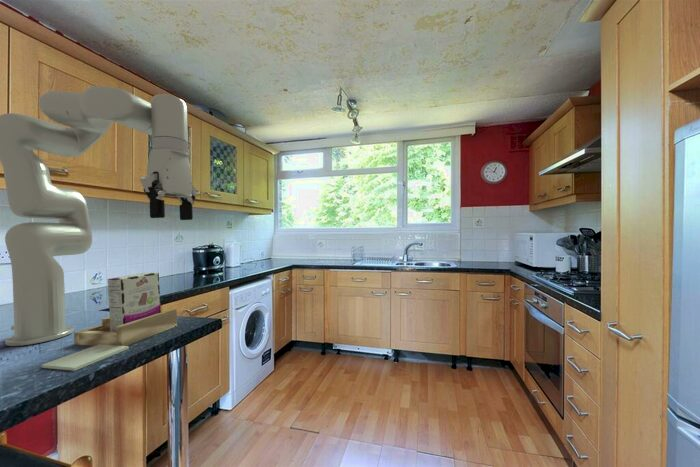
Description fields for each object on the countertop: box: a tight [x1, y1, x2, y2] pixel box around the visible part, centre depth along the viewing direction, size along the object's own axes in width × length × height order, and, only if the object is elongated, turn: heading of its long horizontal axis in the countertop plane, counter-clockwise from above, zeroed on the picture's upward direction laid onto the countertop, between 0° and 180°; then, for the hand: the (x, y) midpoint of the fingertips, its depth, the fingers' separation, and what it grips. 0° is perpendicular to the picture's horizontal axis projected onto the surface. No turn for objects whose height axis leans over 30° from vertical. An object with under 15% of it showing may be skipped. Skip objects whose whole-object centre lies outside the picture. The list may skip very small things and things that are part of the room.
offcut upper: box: [101, 316, 110, 328], centre depth 79 cm, size 4×6×2 cm, turn 174°
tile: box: [41, 344, 130, 372], centre depth 63 cm, size 9×11×1 cm
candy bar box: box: [107, 271, 162, 332], centre depth 78 cm, size 11×5×16 cm, turn 168°
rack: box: [73, 308, 178, 347], centre depth 78 cm, size 15×16×5 cm
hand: (172, 218), depth 70 cm, fingers open, 9 cm apart
